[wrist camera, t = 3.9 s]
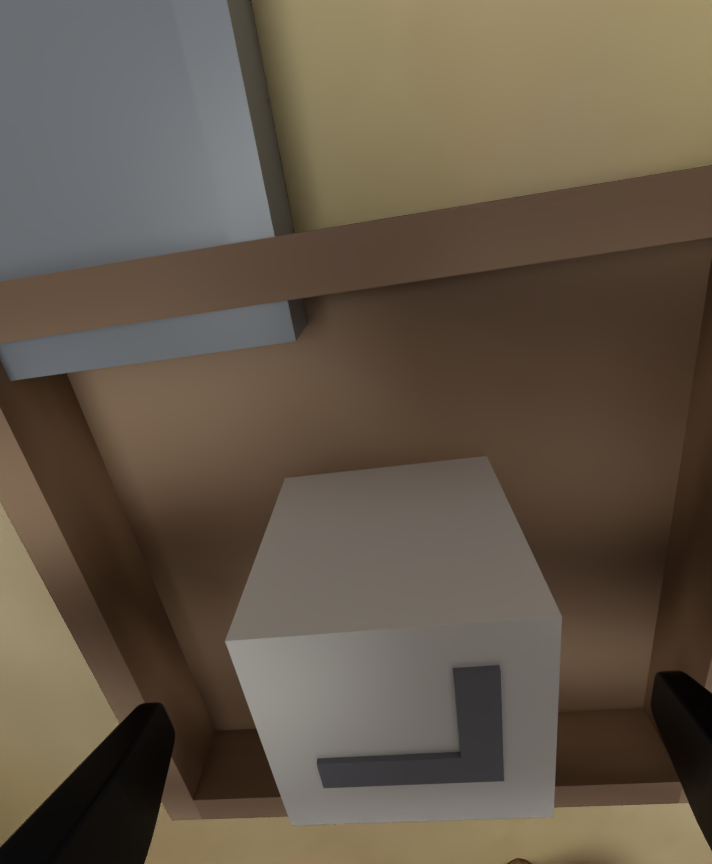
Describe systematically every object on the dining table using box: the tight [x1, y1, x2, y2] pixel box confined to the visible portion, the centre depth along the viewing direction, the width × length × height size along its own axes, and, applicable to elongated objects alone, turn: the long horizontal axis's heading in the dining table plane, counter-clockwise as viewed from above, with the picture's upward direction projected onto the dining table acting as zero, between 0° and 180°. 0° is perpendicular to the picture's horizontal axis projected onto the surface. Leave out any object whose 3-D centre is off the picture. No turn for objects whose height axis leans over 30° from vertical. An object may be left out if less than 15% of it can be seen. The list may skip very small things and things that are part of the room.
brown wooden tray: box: [0, 165, 712, 820], centre depth 12 cm, size 16×16×2 cm
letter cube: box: [225, 456, 562, 825], centre depth 10 cm, size 5×5×5 cm
